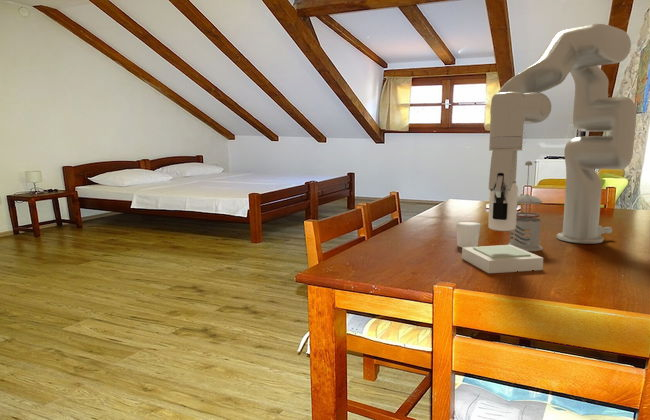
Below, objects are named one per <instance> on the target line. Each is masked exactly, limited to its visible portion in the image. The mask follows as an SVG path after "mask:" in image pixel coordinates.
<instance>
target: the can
mask: <svg viewBox="0 0 650 420" xmlns="http://www.w3.org/2000/svg"><path fill="white" fill-rule="evenodd" d="M503 181H504V180H503ZM495 186H496V184H495ZM495 186H494V189H492V190H493V191H490V190H489V199H488V200H489V201H488V225H487V227H488V228H489V230H491V231H497V232H511V231H513V230H514V231H515V229H516V218H517V217H516V216H517V212H518V211H517V209H518V207H517V204H518V203H517V197H518V195H519V189H518V185H517V181H515V182H513V184H512V187H511V190H510V191H508V193H507V201H506V203H508V206H507V219H506V220H499V219H493V203H494V194H495ZM502 190H505V188H502ZM503 196H504V195H503Z"/></svg>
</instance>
